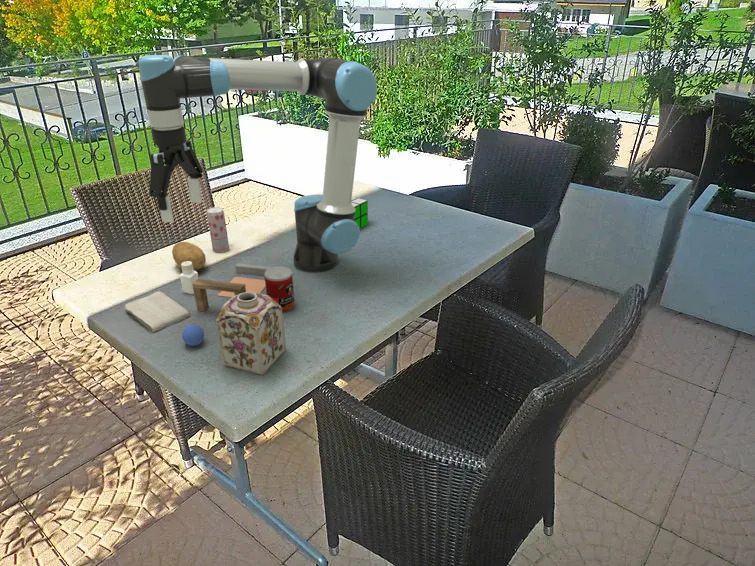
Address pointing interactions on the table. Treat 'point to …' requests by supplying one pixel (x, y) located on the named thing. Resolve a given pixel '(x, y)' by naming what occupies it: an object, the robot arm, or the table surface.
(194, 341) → the ball
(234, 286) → the bridge
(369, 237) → the table surface
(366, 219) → the puzzle cube
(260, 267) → the grey long bar
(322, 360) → the table surface
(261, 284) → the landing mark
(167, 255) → the table surface
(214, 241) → the beverage can
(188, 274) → the salt shaker
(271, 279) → the canned food
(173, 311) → the washcloth
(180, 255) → the potato
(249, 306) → the decorative jar
